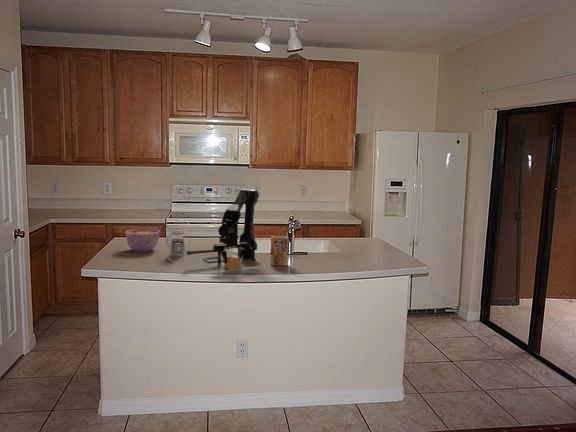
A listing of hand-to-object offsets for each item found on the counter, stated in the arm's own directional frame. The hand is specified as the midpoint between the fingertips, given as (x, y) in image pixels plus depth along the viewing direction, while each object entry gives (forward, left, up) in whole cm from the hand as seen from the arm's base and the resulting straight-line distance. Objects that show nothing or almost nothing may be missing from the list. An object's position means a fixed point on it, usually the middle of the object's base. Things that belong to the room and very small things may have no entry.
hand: (231, 262), depth 259 cm
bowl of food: (+33, -60, -3) cm, 69 cm away
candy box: (-27, +1, -3) cm, 27 cm away
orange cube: (0, 0, -3) cm, 3 cm away
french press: (+19, -38, -3) cm, 43 cm away
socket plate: (+4, -15, -3) cm, 16 cm away
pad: (0, 0, -3) cm, 3 cm away
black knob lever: (+12, -8, -2) cm, 15 cm away
